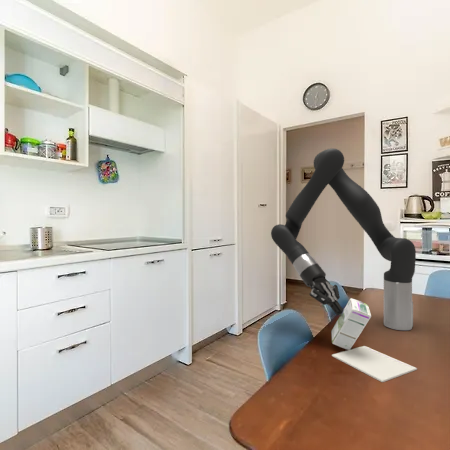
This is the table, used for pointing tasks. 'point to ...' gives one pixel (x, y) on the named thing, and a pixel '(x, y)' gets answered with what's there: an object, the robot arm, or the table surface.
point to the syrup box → (350, 324)
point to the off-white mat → (374, 363)
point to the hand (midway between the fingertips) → (341, 313)
